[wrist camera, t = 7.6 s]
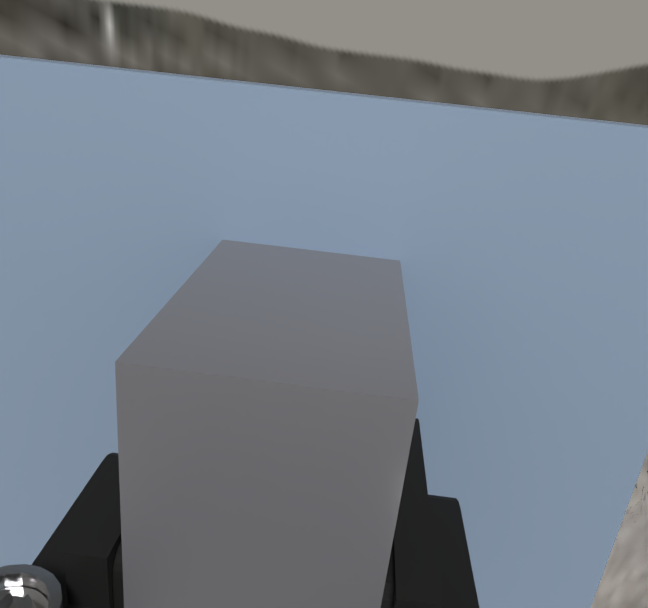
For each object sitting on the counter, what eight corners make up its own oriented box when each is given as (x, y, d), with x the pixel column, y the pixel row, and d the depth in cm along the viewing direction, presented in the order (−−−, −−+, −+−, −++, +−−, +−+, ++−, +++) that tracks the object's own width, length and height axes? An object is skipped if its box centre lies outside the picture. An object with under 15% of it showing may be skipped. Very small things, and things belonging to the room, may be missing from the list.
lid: (686, 126, 11) (1109, 206, 5) (525, 631, 16) (626, 1005, 10) (-2, 50, 11) (-466, 30, 5) (49, 564, 16) (-157, 878, 10)
